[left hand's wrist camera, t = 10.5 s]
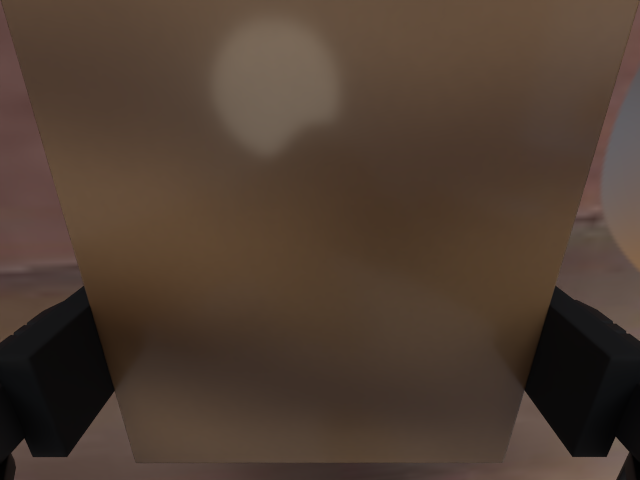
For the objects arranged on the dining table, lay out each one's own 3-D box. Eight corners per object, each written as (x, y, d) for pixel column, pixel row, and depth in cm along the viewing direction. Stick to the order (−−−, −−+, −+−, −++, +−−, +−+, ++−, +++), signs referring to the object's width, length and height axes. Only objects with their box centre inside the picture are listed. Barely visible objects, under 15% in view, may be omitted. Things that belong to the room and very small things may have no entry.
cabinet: (160, -190, 12) (-310, -1054, 3) (480, -189, 12) (948, -1035, 3) (220, 297, 19) (135, 464, 10) (418, 297, 19) (503, 463, 10)
